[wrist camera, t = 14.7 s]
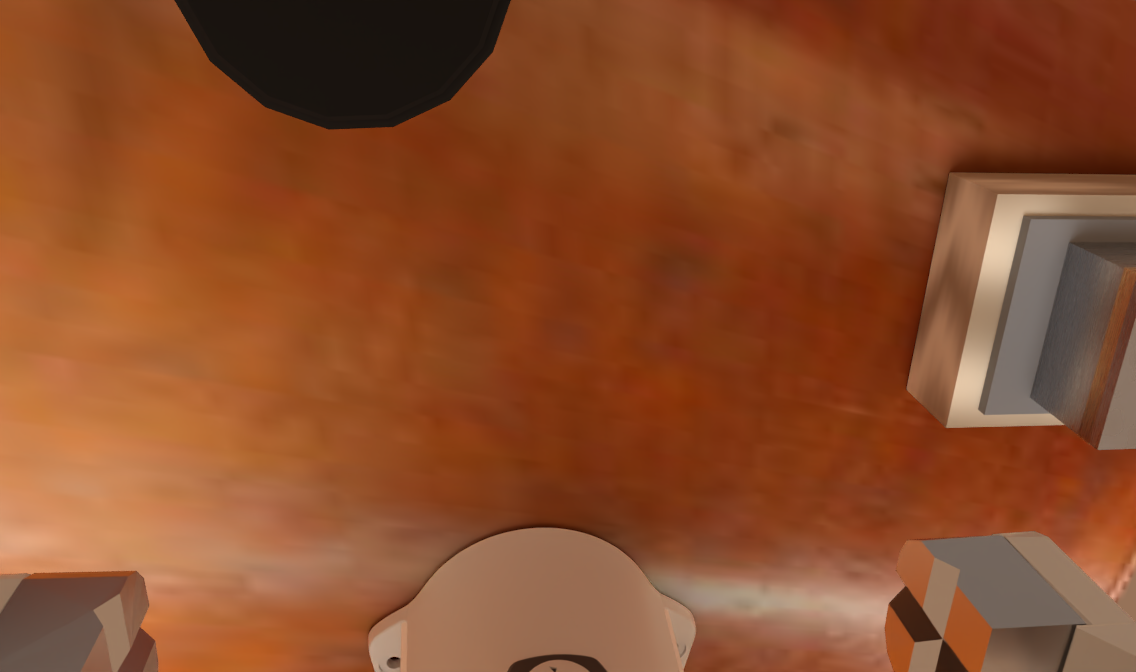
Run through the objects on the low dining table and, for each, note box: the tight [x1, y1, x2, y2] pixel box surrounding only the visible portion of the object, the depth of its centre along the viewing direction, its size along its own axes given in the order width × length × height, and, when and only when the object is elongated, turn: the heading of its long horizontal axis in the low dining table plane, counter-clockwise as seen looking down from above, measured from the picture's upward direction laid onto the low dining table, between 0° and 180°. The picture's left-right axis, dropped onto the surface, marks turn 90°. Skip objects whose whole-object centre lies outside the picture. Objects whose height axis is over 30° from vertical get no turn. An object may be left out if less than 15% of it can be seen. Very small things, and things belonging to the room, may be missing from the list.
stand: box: [906, 172, 1136, 428], centre depth 47 cm, size 12×12×5 cm
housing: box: [1030, 242, 1136, 450], centre depth 43 cm, size 4×8×5 cm, turn 178°
